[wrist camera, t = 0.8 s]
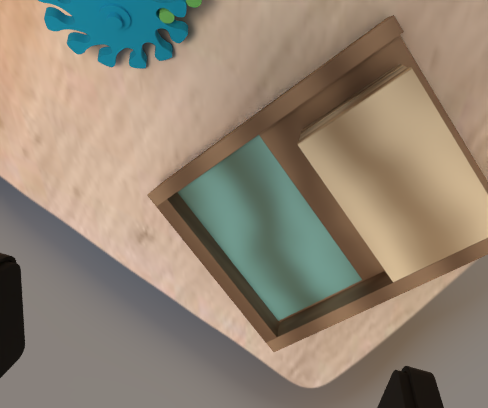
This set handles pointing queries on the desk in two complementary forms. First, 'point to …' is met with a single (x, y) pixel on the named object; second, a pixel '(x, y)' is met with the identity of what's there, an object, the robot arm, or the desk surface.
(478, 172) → the bay
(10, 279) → the robot arm
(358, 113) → the cream hardcover book
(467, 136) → the desk surface
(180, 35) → the blue spiky virus toy
